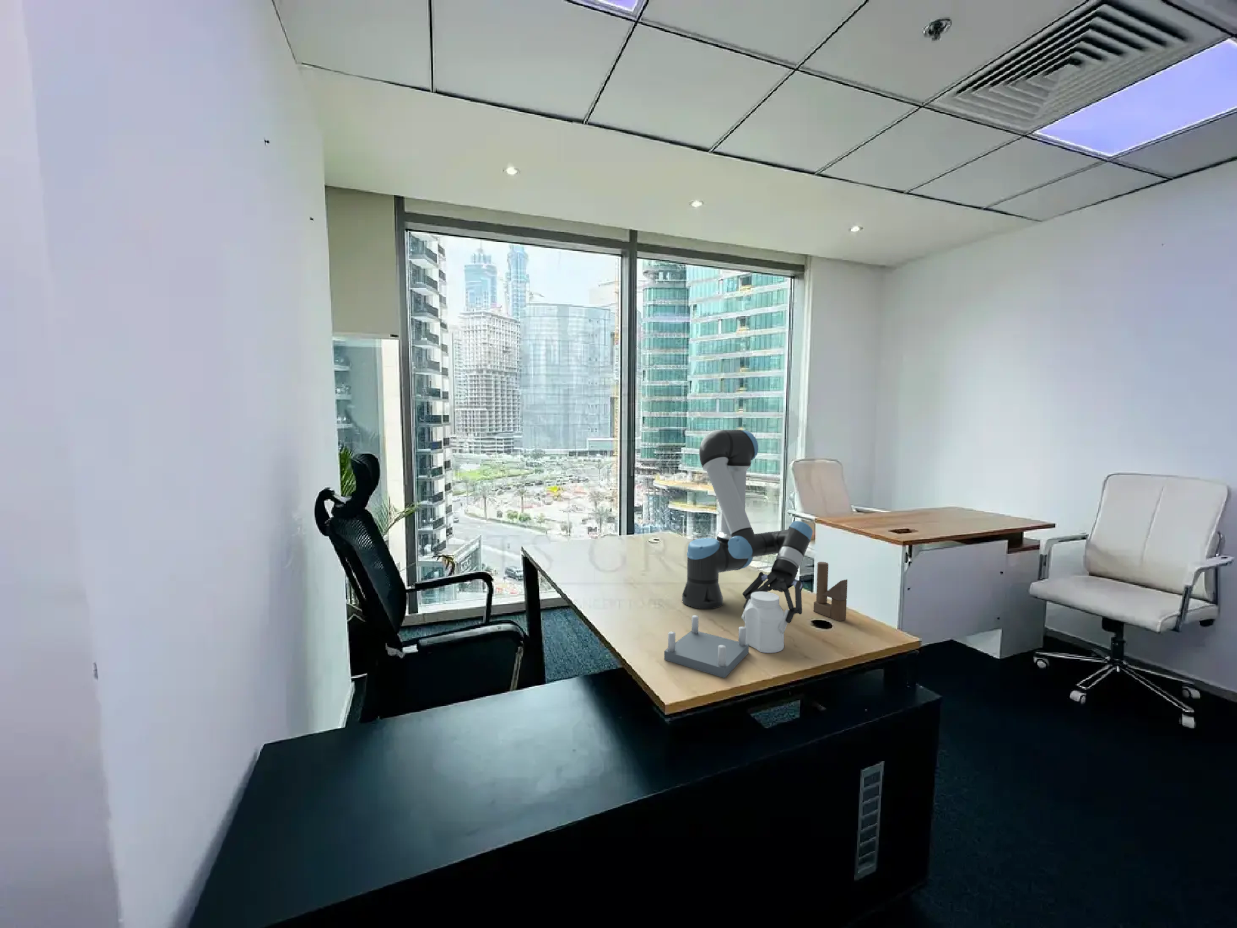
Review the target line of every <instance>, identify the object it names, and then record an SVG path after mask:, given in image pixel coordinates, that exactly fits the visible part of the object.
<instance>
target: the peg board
mask: <svg viewBox="0 0 1237 928" xmlns="http://www.w3.org/2000/svg"><path fill="white" fill-rule="evenodd" d="M667 635H668V637H667V648H666V649H665V650H664V654H663V656H664V657H663V659H664V661H668V662H671V663H673V664H674V663H675V664H678V665H680V666H684V667H687V668H691V669H694V670H698V671H700V672H703V673H707V674H710V675H713V676H717V677H720V678H723V679H726V677H727V676H729V675H730V673H731V672H732V671H733V670H734V669H735V668H736V667H737V666H738V665H739V664H740V663H741V662H742V661H743V659H745V657H746V656H747V655H748V654H749V653H750V652H749V651H750V646H749V644H746V628H745V626H739V627H738V641H737V640H735V639H730V638H726V637H722V636H719V635H715V634H711V633H707V632H703V631H699V616H698V615H695V614H694V615H691V630H690V631H689V632H688V633H687V634H685V635H684V636H683V637H681V638H680V639H678V640H677V641H676V632H675V631H669V632H668V633H667Z"/></svg>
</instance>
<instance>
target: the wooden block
mask: <svg viewBox="0 0 1237 928" xmlns="http://www.w3.org/2000/svg"><path fill="white" fill-rule="evenodd" d="M816 567H817V568H816V598H815V600H816V601H814V602H813V612H814V611H815V613H817V614H820V615H822V616H825V617H828V618H831V619H832V620H835V621H837V622H843V621H845V620H847V601H848V600H847V599H848V579H847V578H846V579H843V580H842V579H841V580H840V581H839V582H837V583H836V584H835V585H833V586H831V588H830V589H828V588H829V587H828V585H829V563H828V562H826V561H818V562H817V566H816ZM828 598H831V600H830V601H831V602H829V603H828Z"/></svg>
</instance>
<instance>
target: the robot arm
mask: <svg viewBox="0 0 1237 928" xmlns="http://www.w3.org/2000/svg"><path fill="white" fill-rule="evenodd" d="M698 449H699V451H698V453H699V461H700V465H701V468H702V469H703V471H705V472H706V473H707V475H708V477H709V481H710V483H711V486H712V488H713V491H714V494H715V496H716V499H717V502H718V505H719V507H720V510H721V527H720V531H719V532H717V534H716V538H713V537H701V538H696V539H694V540H692V541H690V542H688V545H687V552H686V557H687V562H686V563H687V565H686V569H687V571H686V574H687V575H686V583H685V587H684V589H683V591H682V595H681V602H682V601H683V602H682V604H684V605H686V606H687V605H688V606H687V607H690V606H691V607H690V608H695V609H703V610H709V609H716V608H720V607H721V606H723V604H724V596H723V593H722V590H721V587H720V583H719V574H720V573H725V572H732V571H739V570H742V569H745V568H747V567H749V565H751V563H752V561H753V559H754V558H756V557H762V556H769V555H776V556H775V557H776V558H775V560H774V562H773V564H772V566H771V569H770V572H769V573H768V574H766V573H764V572H763V571H760V572H759V573H758V575H757V577H756V578H755V579H754V580H753V581H752V582H751V583H750V584H749V586H748V587H747V588H746V589H745V590H744V591H743V592H742V596H743V598H744V599H745V602H744V603H743V612H742V615H741V620H743V622H744V623H745V608H746V607H747V606H748V605H749V603H750V602H751V594H752V593H753V592H759V591H763V592H771V591H772V590H773V591H775V592H777V591H778V592H780V593H784V597H785V600H786V603H787V607H788V609H787V608H786V609H785V610H784V615H783V619H782V621H781V623H780V625H779V628H778V629H779V631H780V632H781V633H782V634H784V635H785V631H786V628H787V626H788V624H791V623H792V621H793V618H794V616H795V615H796V614H798V615H801V614H802V613H803V602H802V600H803V599H802V590H803V587H804V585H803V583H802V582H801V580H797V581H796V580H795V579H796V578H797V575H798V572H799V569H800V567H801V565H802V561H803V560H804V556H805V554H806V552H807V549H808V547H809V544H810V542H812V536H813V533H814V531H813V529H812V527H811V526H810V525H809V524H808V523H806V522H804V521H800V520H794V521H792V522H791V523H790V524H789V526H788V529H782V530H776V531H767V532H760V533H754V530H753V529H754V528H753V527H752V525H751V522H750V520H749V517H748V515H747V512H746V492H747V491H746V489H747V488H746V486H747V471H748V469H749V468H751V466H752V461H753V460H754V459H755V458H757V457H756V456H757V455H758V453H759V443H758V440H757V438H756V437H755V436H754V434H753V433H752V432H751V431H749V430H745V429H744V430H741V429H714V430H712V431H710V432H708V433H707V434H706V435H704V436H703V438H702V439H701V442H700V445H699V448H698ZM792 587H794V598H795V607H794V602H793V600H792V597H791V593H790V588H792ZM719 606H720V607H719Z"/></svg>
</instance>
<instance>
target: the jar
mask: <svg viewBox="0 0 1237 928" xmlns="http://www.w3.org/2000/svg"><path fill="white" fill-rule="evenodd" d="M784 613H785V610H784V609H783V608H782V607H781V605H780V596H779V595H778V594H776V593H775V592H774V593H773V592H771V591H768V592H763V591H759V592H753V593H752V594H751V602H750V603H749V605H748V606H747V607H746V608H745V622H744V627H745V628H746V644H749V647H752V648H754V649H755V650H756V651H758V652H760V653H765V654H774V653H778V652H782V650H784V649H785V633H784V634H782V633H781V632H780V631H779V629H778V628H779V625H780V623H781V621H782V619H783V615H784Z"/></svg>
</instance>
